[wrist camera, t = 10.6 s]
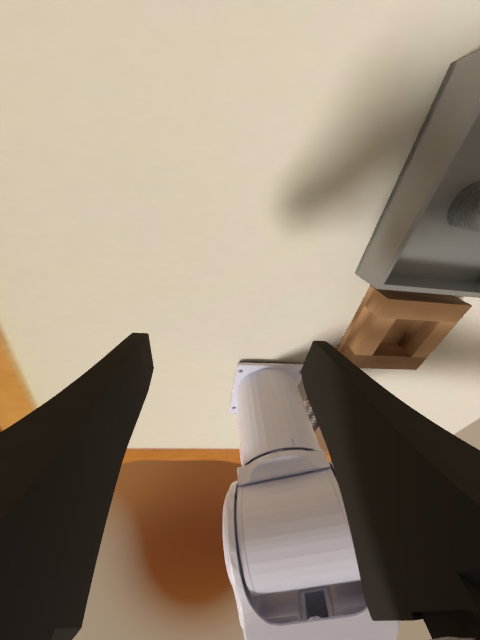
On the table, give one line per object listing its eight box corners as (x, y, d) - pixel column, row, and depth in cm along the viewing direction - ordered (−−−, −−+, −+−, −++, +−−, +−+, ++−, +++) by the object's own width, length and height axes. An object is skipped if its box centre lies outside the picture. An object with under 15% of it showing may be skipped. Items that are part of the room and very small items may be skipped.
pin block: (399, 353, 24) (416, 369, 22) (336, 350, 23) (347, 367, 21) (446, 292, 20) (472, 305, 18) (370, 285, 19) (388, 299, 17)
